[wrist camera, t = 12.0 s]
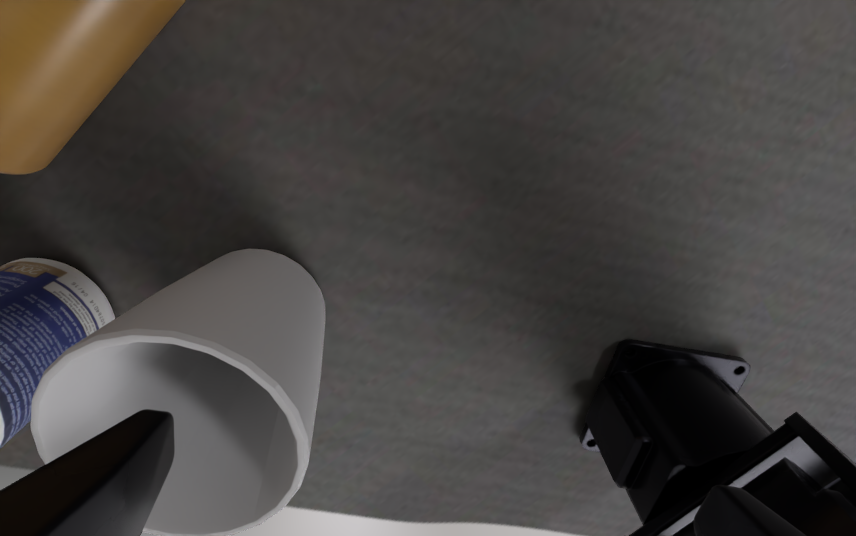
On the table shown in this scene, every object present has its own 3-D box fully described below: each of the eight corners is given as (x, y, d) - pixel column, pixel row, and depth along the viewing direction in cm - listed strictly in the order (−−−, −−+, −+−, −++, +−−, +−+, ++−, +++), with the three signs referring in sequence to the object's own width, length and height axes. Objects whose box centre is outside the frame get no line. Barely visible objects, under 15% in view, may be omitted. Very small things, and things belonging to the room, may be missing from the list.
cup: (360, 244, 20) (324, 360, 12) (329, 425, 24) (286, 601, 16) (175, 208, 19) (8, 307, 11) (174, 401, 23) (48, 575, 15)
